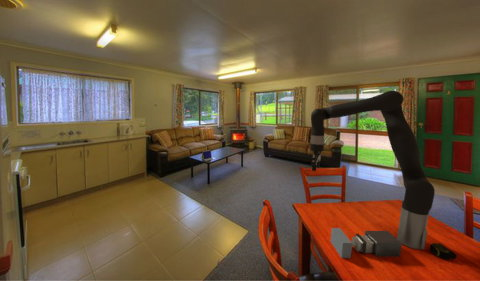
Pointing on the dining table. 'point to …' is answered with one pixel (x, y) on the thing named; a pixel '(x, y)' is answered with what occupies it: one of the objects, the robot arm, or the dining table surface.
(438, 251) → the tape measure
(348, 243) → the grey block
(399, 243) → the sleeve
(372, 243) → the light grey square bar
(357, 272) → the dining table surface
